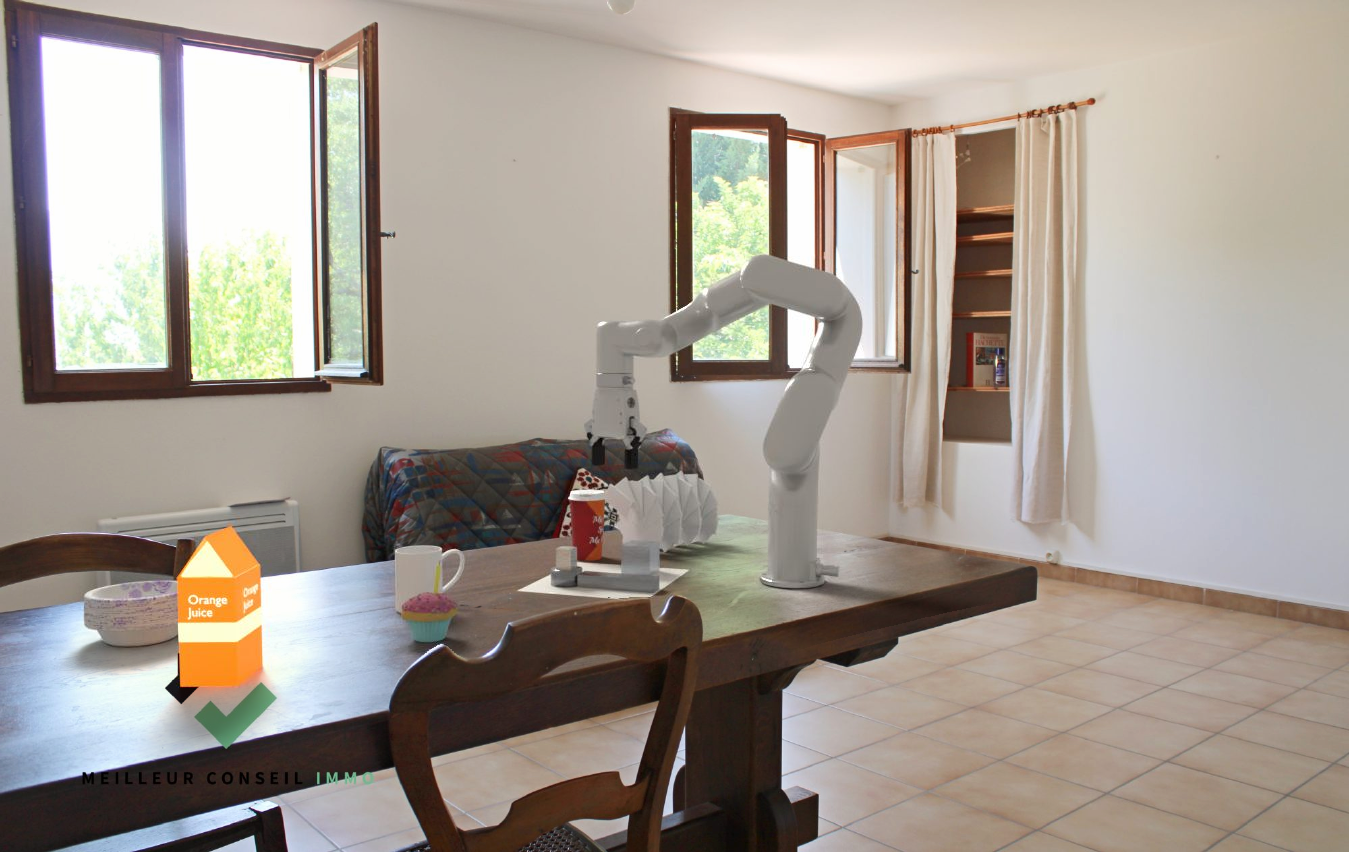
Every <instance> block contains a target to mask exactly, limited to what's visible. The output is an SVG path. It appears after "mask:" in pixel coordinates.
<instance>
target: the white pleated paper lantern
mask: <svg viewBox="0 0 1349 852" xmlns="http://www.w3.org/2000/svg"><path fill="white" fill-rule="evenodd" d="M712 487H713V486H712V485H711V484H709V483H707V482H706V481H704V480H703V479H702V478H699V474H698V473H691V474H690V473H687V474H686V473H685V474H684V472H683V470H679V472H677V473H676V474H670V475H664V474H663V472H660V473H659V474H658V475H656V477H655V478H654V479H650V476H649V475H648V474H646V475H645V476H643V477H642V478H641V479H639V480H633V479H632V480H629V479H628V477H627V476H625V477H623V478H622V479H621V480H620V481H619V482H617V483H616V484H615V485H613V484H612V483H609V485H608V488H607V490H606V492H605V496H606V499H605V503H608V504H609V506H611V507H613V509H615V510H616V511H617V512H618V517H619V520H618V521H617V523H615V525H616V527H617V529H618V530H619V531H620V534H621V535H622V540H621V543H622V544H625V543H627V542H629V541H631V540H641V541H657V542H660V550H662V551H663V553H664V552H665V553H667V552H668V551H669V550H670V549H671V548H672V547H673V548H674V547H678V546H681V545H683V544H685V545H686V546H687V547H688V546H690V545H691V544H692V543H698V542H701V543H702V545H705V543H706V542H707V541H708V540H709V539H710V538H711V537H712V535H716V534H717V530H718V526H719V521H720V517H719V513H718V511H719V510H718V509H719V508H718V507H719V506H720V505H719V502H718V501H717V499H716V497H715V494H714V492H713V490H712Z"/></svg>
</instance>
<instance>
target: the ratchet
mask: <svg viewBox="0 0 1349 852" xmlns="http://www.w3.org/2000/svg"><path fill="white" fill-rule="evenodd" d="M577 562H578V560H577V547H573V546H572V545H571V546H570V545H567V546H566V545H561V546H559V547H556V548H555V566H552V567H550V575H551V586H554V587H560V588H571V587H580V588H593V589H606V590H619V591H632V592H645V593H654V592H656V591H657V590H658V589H659V576H650V575H636V574H622V573H608V572H594V571H584V572H582V567H579V566H577Z"/></svg>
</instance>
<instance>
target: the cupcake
mask: <svg viewBox="0 0 1349 852" xmlns="http://www.w3.org/2000/svg"><path fill="white" fill-rule="evenodd" d="M440 561H441V560H439V564H438V565H437V567H436V575H435V584H434V592H433V593H429V592H428V593H427V592H425V593H422V594H418V596H415V597H413V598H411V599H409V600H408V601H406V602H405V603H404V604H403V605H402V611H401V613H400V617H401V619H402V620H404V621H406V623H407V624H408V626H409V628H410V631H411V634H412V637H413V640H414V641H416V642H419V643H436V642H440V641H443V640H444V639H445V638H446V637H447V633H448V629H449V626H450V623H451V621H452V619H453V617H455V616H456V615H457V614H458V604H457V603H456V601H455V600H453V598H452V597H451V596H448V595H446V593H444V592H443V593H438V586H439V578H440V569H441V566H440Z"/></svg>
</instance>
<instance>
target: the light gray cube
mask: <svg viewBox="0 0 1349 852" xmlns="http://www.w3.org/2000/svg"><path fill="white" fill-rule="evenodd" d="M620 548H621V551H620V552H621V553H620V554H621V555H620V556H621V559H620V560H621V563H620V565H621V573H622V574H636V575H650V576H652V575H654V574H655V573H657V572H659V568H660V552H661V551H660V550H661V549H660V542H657V541H641V540H631V541H629V542H627V543H625V544H624V543H622V544H621V547H620Z"/></svg>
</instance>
